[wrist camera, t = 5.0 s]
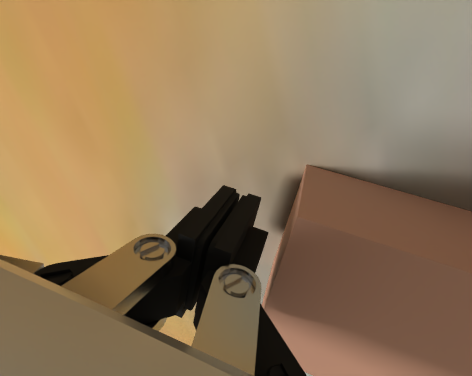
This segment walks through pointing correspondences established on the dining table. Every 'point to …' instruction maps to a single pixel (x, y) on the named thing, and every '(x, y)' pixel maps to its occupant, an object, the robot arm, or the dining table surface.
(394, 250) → the terracotta block
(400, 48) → the dining table surface
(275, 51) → the dining table surface
